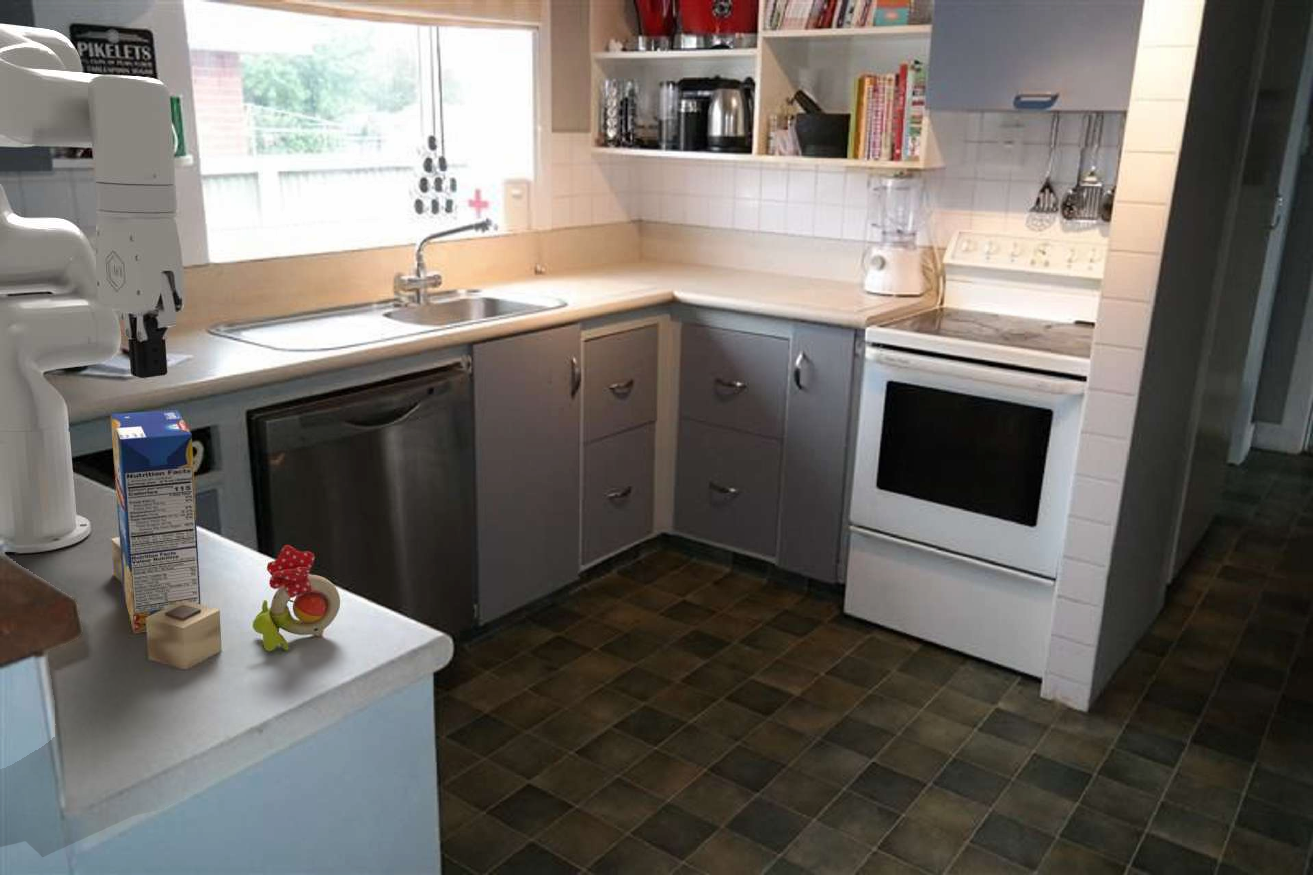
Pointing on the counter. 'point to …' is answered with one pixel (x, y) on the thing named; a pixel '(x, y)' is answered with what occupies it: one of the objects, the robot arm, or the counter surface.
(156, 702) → the counter surface
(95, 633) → the counter surface
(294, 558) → the bird rattle
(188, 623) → the marked oak block near
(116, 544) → the marked oak block far
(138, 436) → the beverage box
